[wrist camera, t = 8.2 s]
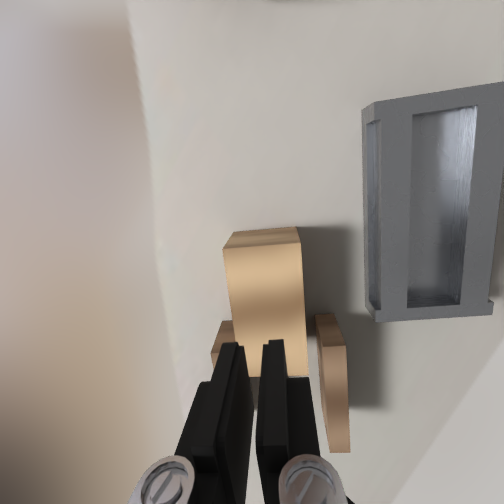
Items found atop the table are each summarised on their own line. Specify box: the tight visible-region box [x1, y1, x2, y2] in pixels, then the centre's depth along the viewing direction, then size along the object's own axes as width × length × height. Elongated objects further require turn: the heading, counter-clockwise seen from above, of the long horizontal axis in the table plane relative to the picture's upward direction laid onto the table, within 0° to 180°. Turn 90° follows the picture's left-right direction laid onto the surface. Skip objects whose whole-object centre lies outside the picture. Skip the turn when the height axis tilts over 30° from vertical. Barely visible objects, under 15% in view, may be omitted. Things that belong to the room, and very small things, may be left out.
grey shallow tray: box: [362, 82, 504, 322], centre depth 20 cm, size 15×8×3 cm, turn 8°
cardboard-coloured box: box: [222, 227, 309, 377], centre depth 22 cm, size 10×5×5 cm, turn 6°
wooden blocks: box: [211, 313, 350, 453], centre depth 24 cm, size 10×10×4 cm
